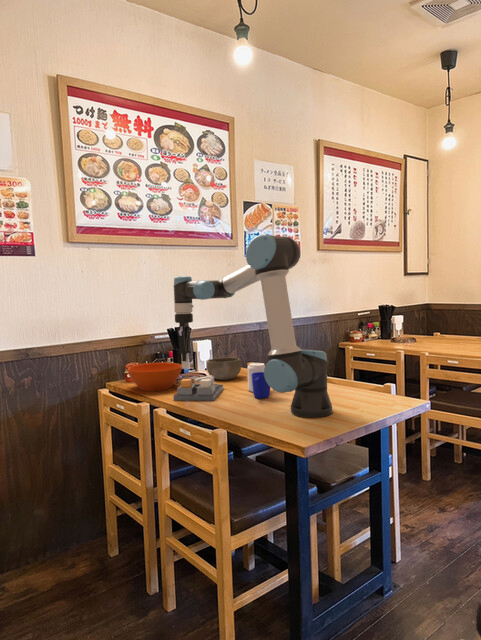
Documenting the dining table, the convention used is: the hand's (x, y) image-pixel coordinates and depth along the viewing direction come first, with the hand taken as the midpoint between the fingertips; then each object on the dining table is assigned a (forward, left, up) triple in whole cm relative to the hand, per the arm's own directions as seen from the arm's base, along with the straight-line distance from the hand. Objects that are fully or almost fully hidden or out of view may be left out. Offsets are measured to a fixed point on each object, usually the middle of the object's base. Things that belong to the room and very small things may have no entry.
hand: (185, 368), depth 195 cm
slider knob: (+8, -9, -10) cm, 16 cm away
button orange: (0, 0, -8) cm, 8 cm away
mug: (0, -32, -13) cm, 34 cm away
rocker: (+14, -4, -7) cm, 17 cm away
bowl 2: (+41, -9, -13) cm, 44 cm away
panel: (+6, -4, -13) cm, 15 cm away
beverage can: (+14, -29, -13) cm, 35 cm away
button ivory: (0, -9, -8) cm, 12 cm away
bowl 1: (+19, +20, -13) cm, 31 cm away
